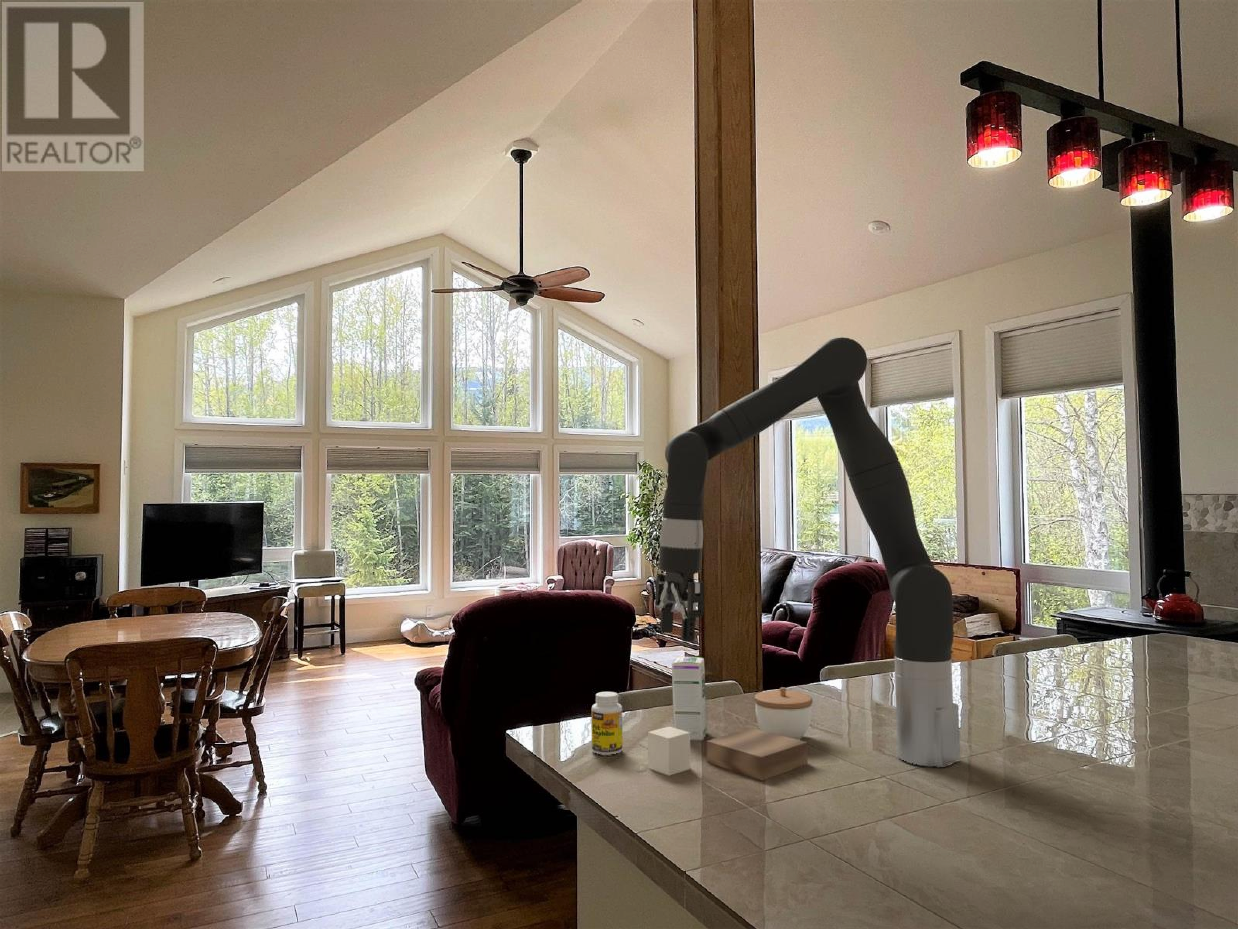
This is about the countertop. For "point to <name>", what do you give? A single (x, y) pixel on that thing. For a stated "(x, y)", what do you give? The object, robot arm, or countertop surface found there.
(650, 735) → the cream block
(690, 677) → the syrup box
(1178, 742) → the countertop surface
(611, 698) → the supplement bottle
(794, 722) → the lidded jar
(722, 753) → the walnut block
